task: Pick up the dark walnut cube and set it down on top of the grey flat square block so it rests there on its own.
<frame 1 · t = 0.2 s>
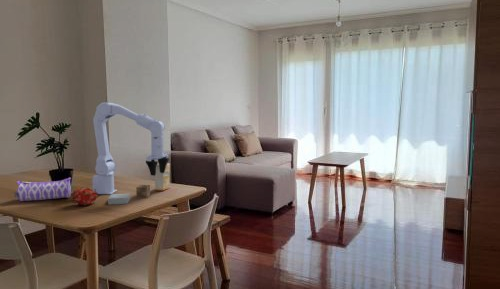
hand: (157, 174, 180), 10 cm above the table, fingers open, 7 cm apart
walnut cube: (143, 196, 176), on the table
pencil case: (45, 199, 169), on the table
supplement box: (162, 189, 189), on the table, touching gripper
grey flat square block: (119, 202, 166), on the table
dragon fruit: (85, 205, 160), on the table
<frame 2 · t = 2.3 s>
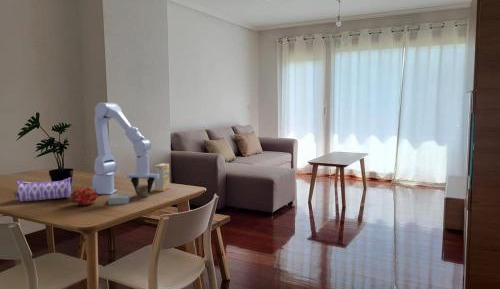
hand: (143, 193, 175), 1 cm above the table, fingers closed on walnut cube, 5 cm apart
walnut cube: (143, 196, 176), on the table, touching gripper
supplement box: (162, 190, 190), on the table
everything else where it was.
when the fingers open (6 cm above the table, at t = 5.5 s): walnut cube drops 2 cm, resting on grey flat square block.
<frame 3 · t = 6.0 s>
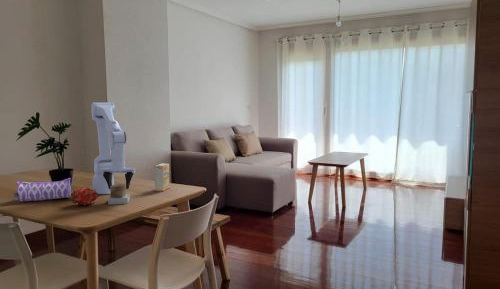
hand: (118, 188, 165), 6 cm above the table, fingers open, 7 cm apart
walnut cube: (118, 196, 165), point 2 cm above the table, touching grey flat square block
grey flat square block: (119, 202, 166), on the table, touching walnut cube
everything else where it was.
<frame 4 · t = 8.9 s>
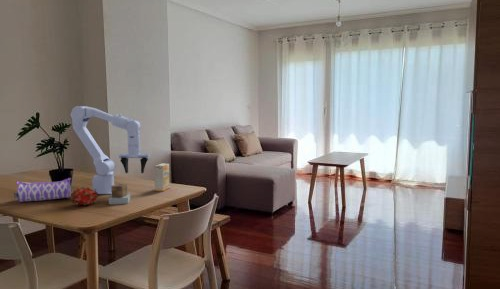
hand: (134, 172, 181), 10 cm above the table, fingers open, 7 cm apart
nothing on the table moved.
at the end: walnut cube 0.1 cm off-centre on the grey flat square block, point 3.0 cm above the grey flat square block's base; walnut cube tilted 0°; the gripper is holding nothing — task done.
